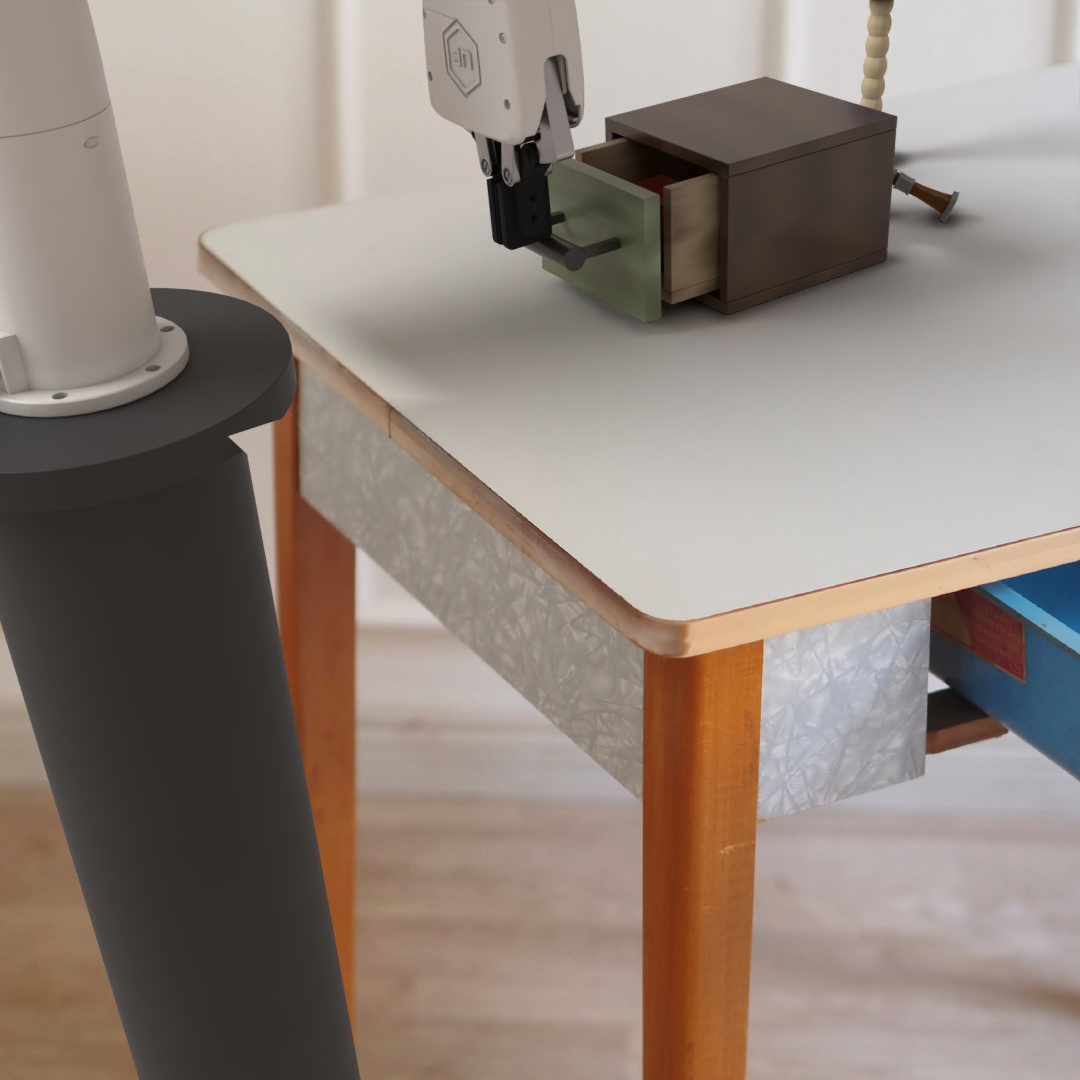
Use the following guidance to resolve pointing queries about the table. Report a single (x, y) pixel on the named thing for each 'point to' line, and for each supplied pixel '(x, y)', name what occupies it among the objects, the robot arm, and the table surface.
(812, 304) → the table surface
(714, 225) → the drawer
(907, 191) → the wooden post with brackets
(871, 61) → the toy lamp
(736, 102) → the cabinet
